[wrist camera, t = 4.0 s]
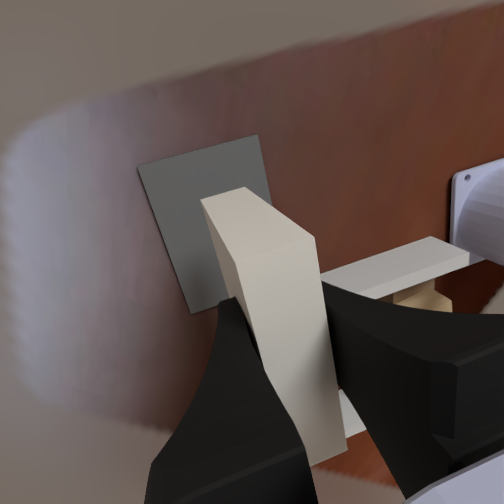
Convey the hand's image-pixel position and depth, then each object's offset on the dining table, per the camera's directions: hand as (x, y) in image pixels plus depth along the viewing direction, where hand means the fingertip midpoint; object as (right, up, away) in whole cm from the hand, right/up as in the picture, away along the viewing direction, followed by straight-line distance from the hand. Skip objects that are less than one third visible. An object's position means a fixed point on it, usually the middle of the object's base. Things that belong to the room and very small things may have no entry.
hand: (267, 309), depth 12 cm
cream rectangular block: (-1, +1, +4) cm, 4 cm away
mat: (-2, +4, +9) cm, 10 cm away
